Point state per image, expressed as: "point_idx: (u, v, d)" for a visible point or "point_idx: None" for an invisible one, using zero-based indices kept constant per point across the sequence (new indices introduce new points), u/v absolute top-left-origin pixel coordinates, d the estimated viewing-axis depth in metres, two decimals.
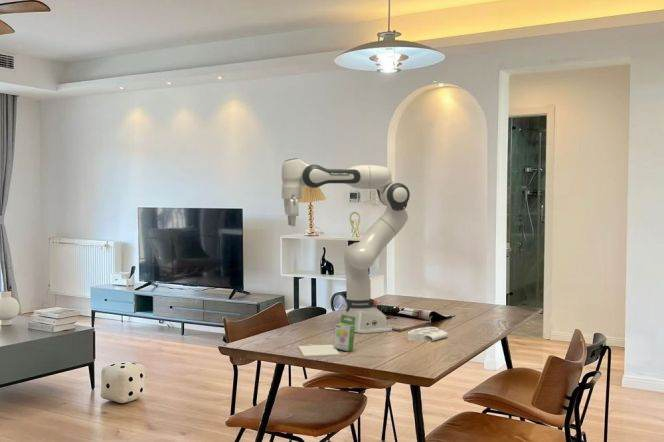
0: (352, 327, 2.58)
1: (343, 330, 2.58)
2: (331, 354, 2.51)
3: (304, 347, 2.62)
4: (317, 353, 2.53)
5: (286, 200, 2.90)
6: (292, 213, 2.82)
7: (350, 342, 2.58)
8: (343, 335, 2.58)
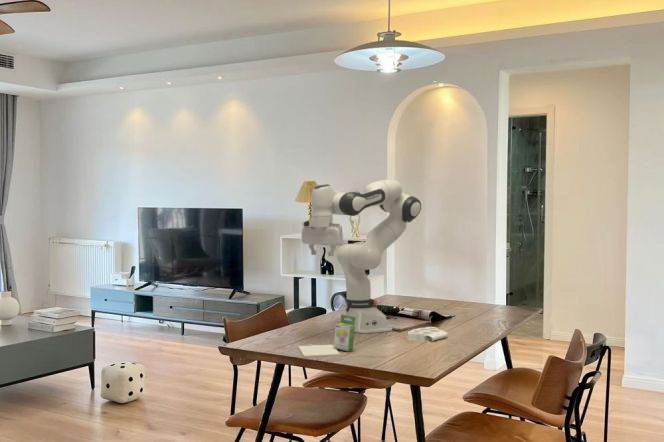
0: (352, 327, 2.58)
1: (343, 330, 2.58)
2: (331, 354, 2.51)
3: (304, 347, 2.62)
4: (317, 353, 2.53)
5: (321, 229, 2.74)
6: (339, 242, 2.71)
7: (350, 342, 2.58)
8: (343, 335, 2.58)
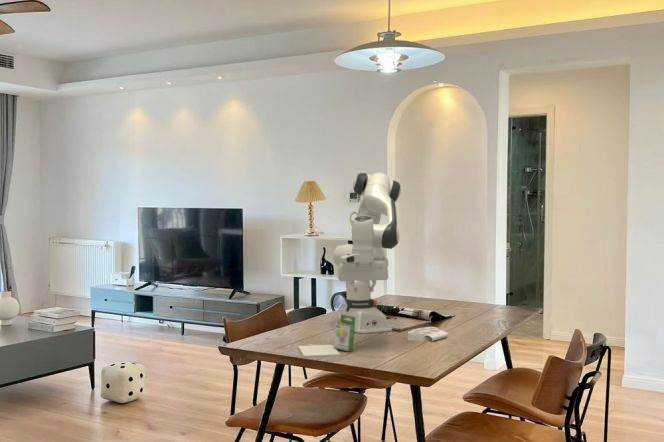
0: (352, 327, 2.58)
1: (343, 330, 2.58)
2: (331, 354, 2.51)
3: (304, 347, 2.62)
4: (317, 353, 2.53)
5: (368, 264, 2.58)
6: (387, 276, 2.62)
7: (350, 342, 2.58)
8: (343, 335, 2.58)
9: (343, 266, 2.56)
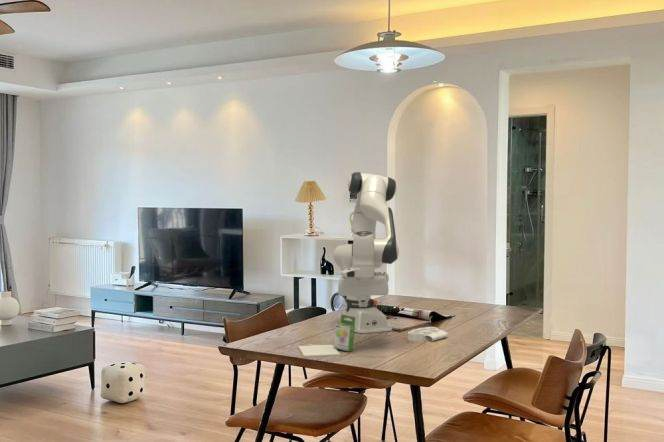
0: (352, 327, 2.58)
1: (343, 330, 2.58)
2: (331, 354, 2.51)
3: (304, 347, 2.62)
4: (317, 353, 2.53)
5: (369, 278, 2.58)
6: None
7: (350, 342, 2.58)
8: (343, 335, 2.58)
9: (343, 281, 2.56)
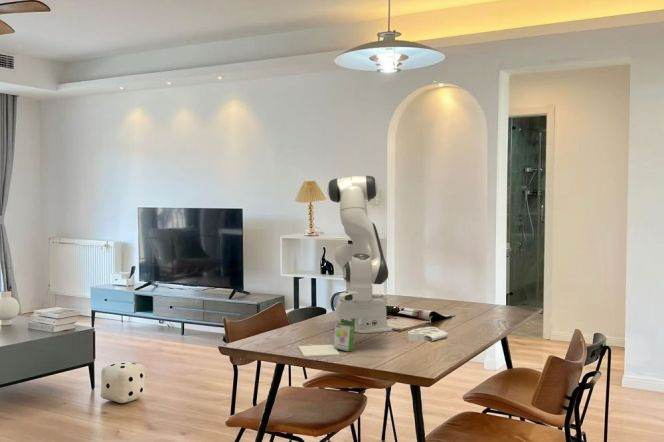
0: (352, 327, 2.58)
1: (343, 330, 2.58)
2: (331, 354, 2.51)
3: (304, 347, 2.62)
4: (317, 353, 2.53)
5: (367, 301, 2.59)
6: None
7: (350, 342, 2.58)
8: (343, 335, 2.58)
9: (341, 304, 2.57)
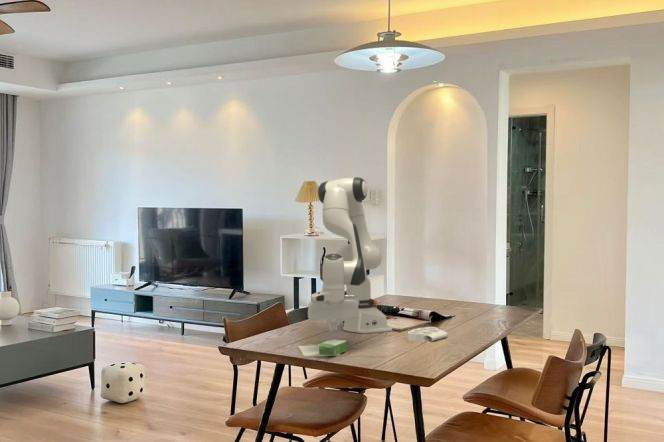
0: (334, 349, 2.49)
1: None
2: None
3: (304, 347, 2.62)
4: (317, 353, 2.53)
5: (339, 302, 2.56)
6: (358, 315, 2.60)
7: (342, 348, 2.54)
8: None
9: (313, 305, 2.55)
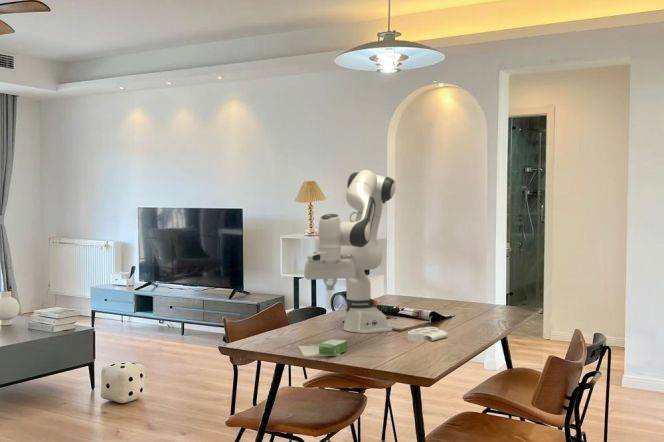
0: (334, 349, 2.49)
1: None
2: None
3: (304, 347, 2.62)
4: (317, 353, 2.53)
5: (335, 262, 2.57)
6: (355, 274, 2.60)
7: (342, 348, 2.54)
8: None
9: (309, 264, 2.55)
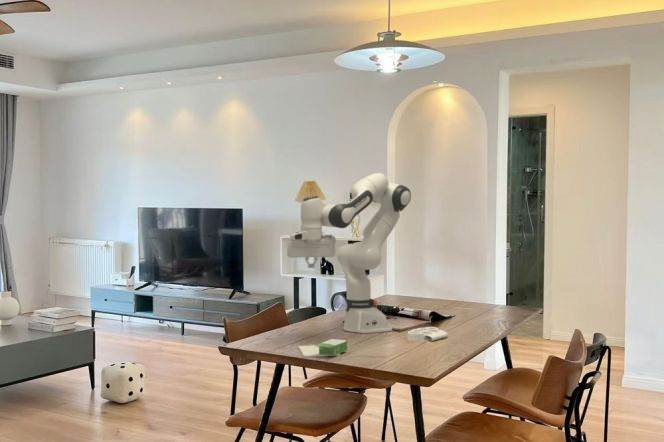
0: (334, 349, 2.49)
1: None
2: None
3: (304, 347, 2.62)
4: (317, 353, 2.53)
5: (316, 241, 2.72)
6: None
7: (342, 348, 2.54)
8: None
9: (291, 243, 2.70)
